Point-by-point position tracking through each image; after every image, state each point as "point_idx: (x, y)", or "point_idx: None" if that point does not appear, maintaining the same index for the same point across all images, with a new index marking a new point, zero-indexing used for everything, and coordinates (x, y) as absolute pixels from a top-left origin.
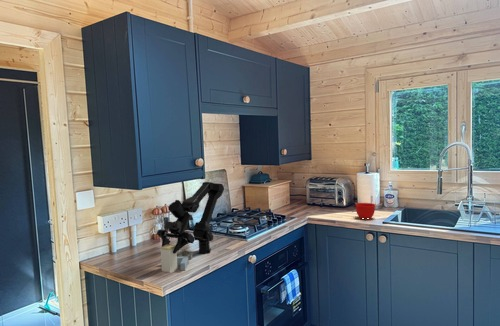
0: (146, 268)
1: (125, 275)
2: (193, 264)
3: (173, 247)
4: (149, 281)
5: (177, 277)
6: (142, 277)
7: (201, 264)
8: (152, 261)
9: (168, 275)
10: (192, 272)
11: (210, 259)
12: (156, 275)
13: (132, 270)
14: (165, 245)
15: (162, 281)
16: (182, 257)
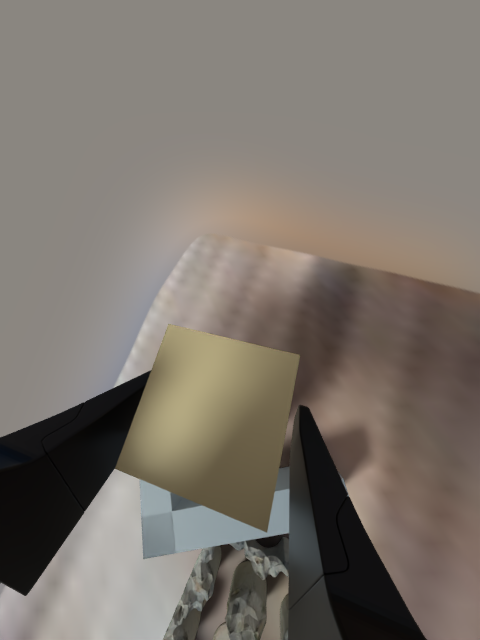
0: (399, 400)
1: (441, 285)
2: (137, 503)
3: (146, 401)
4: (271, 251)
5: (171, 308)
6: (330, 280)
7: (91, 506)
8: (464, 562)
9: (218, 322)
10: (120, 374)
11: (43, 629)
12: (276, 312)
13: (465, 356)
14: (266, 447)
15: (217, 261)
16: (180, 520)
